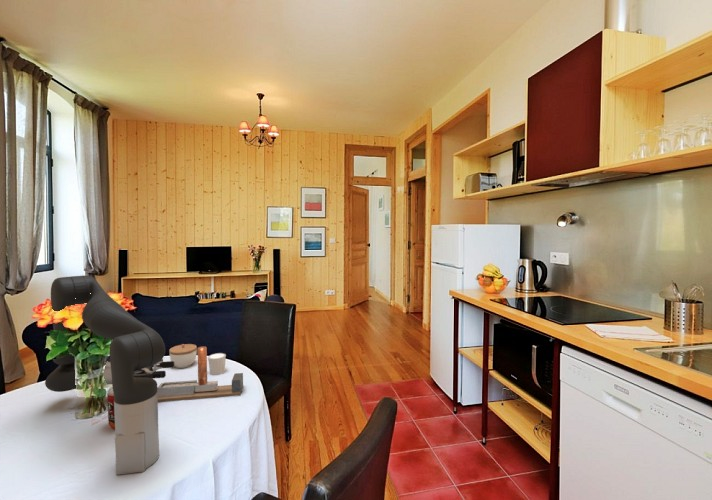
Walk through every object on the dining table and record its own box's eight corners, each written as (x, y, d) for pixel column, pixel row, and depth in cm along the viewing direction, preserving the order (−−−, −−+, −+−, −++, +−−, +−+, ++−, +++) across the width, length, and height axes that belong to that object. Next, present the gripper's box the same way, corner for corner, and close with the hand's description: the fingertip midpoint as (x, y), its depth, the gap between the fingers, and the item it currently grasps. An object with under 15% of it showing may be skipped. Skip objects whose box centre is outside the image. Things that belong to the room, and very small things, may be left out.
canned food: (103, 425, 102) (101, 390, 101) (131, 413, 109) (130, 379, 109) (117, 432, 99) (116, 396, 98) (145, 419, 106) (144, 385, 105)
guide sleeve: (193, 394, 119) (193, 385, 119) (157, 397, 117) (156, 388, 117) (197, 388, 124) (197, 380, 124) (162, 391, 122) (161, 382, 121)
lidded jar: (202, 361, 152) (201, 341, 152) (187, 371, 142) (186, 349, 141) (180, 360, 154) (179, 339, 153) (163, 369, 143) (163, 347, 143)
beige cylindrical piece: (208, 370, 143) (207, 354, 142) (225, 367, 145) (225, 351, 145) (208, 376, 136) (208, 359, 136) (226, 374, 139) (226, 357, 139)
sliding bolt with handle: (216, 390, 121) (215, 348, 121) (161, 394, 118) (160, 351, 117) (217, 386, 124) (217, 345, 123) (164, 390, 121) (163, 348, 120)
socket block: (240, 392, 122) (240, 379, 121) (231, 392, 121) (231, 380, 121) (243, 384, 127) (242, 373, 127) (234, 385, 127) (234, 373, 127)
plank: (240, 395, 121) (240, 392, 121) (155, 402, 116) (155, 399, 116) (243, 386, 128) (243, 384, 128) (163, 392, 123) (162, 390, 123)
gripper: (107, 370, 109) (162, 366, 112) (128, 354, 123) (176, 351, 126) (108, 392, 110) (162, 388, 113) (129, 374, 124) (176, 371, 127)
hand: (169, 369), depth 119 cm, fingers open, 8 cm apart
